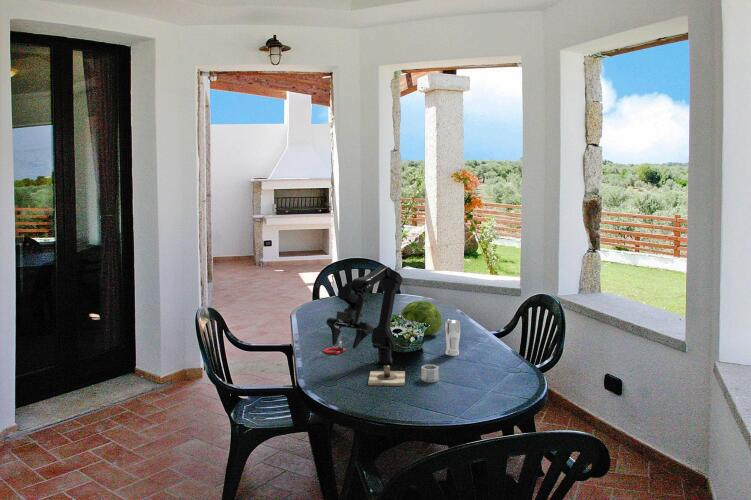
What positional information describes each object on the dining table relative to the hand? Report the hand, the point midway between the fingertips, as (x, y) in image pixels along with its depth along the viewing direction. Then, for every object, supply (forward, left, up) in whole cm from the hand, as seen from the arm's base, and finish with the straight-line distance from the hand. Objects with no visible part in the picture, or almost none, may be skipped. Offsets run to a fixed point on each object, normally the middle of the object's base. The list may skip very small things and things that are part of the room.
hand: (343, 346), depth 234 cm
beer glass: (-40, +44, -15) cm, 61 cm away
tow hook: (-43, -10, -15) cm, 46 cm away
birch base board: (-6, +16, -15) cm, 23 cm away
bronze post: (-6, +16, -15) cm, 23 cm away
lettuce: (-73, +29, -15) cm, 80 cm away
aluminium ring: (-6, +33, -15) cm, 37 cm away
